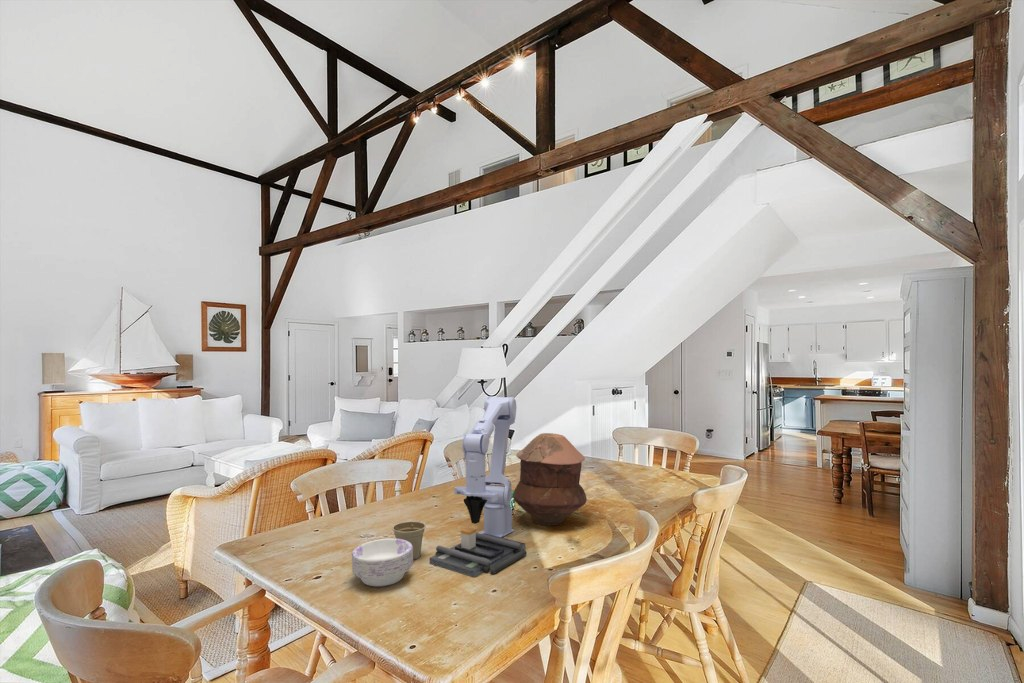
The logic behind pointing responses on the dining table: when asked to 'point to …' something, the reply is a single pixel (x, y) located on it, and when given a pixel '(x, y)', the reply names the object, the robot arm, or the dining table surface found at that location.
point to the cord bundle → (480, 560)
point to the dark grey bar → (499, 541)
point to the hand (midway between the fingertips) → (475, 522)
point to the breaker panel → (482, 549)
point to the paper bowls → (382, 561)
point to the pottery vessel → (550, 479)
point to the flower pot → (411, 534)
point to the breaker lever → (468, 538)
